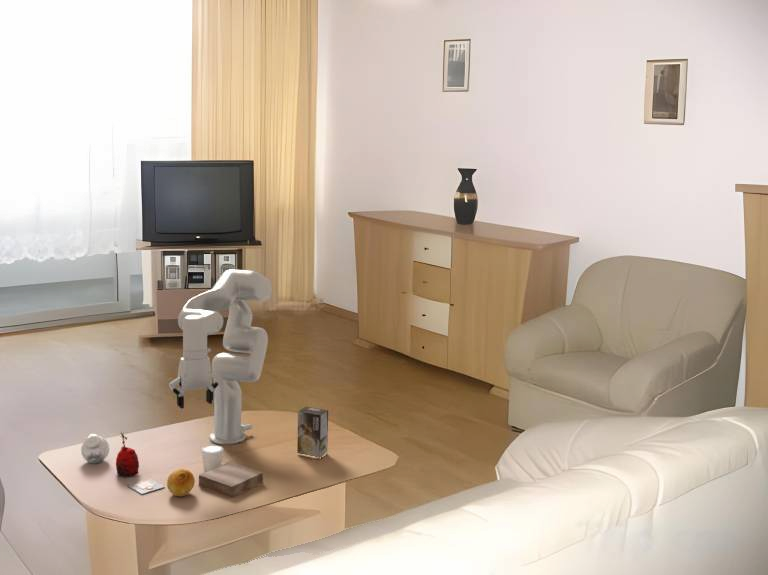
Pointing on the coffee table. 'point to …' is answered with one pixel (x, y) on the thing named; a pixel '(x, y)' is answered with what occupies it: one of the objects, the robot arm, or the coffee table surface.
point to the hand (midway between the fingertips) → (195, 404)
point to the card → (146, 486)
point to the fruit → (180, 482)
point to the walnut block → (230, 479)
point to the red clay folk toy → (127, 461)
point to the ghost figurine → (95, 448)
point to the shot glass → (212, 457)
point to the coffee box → (312, 431)
